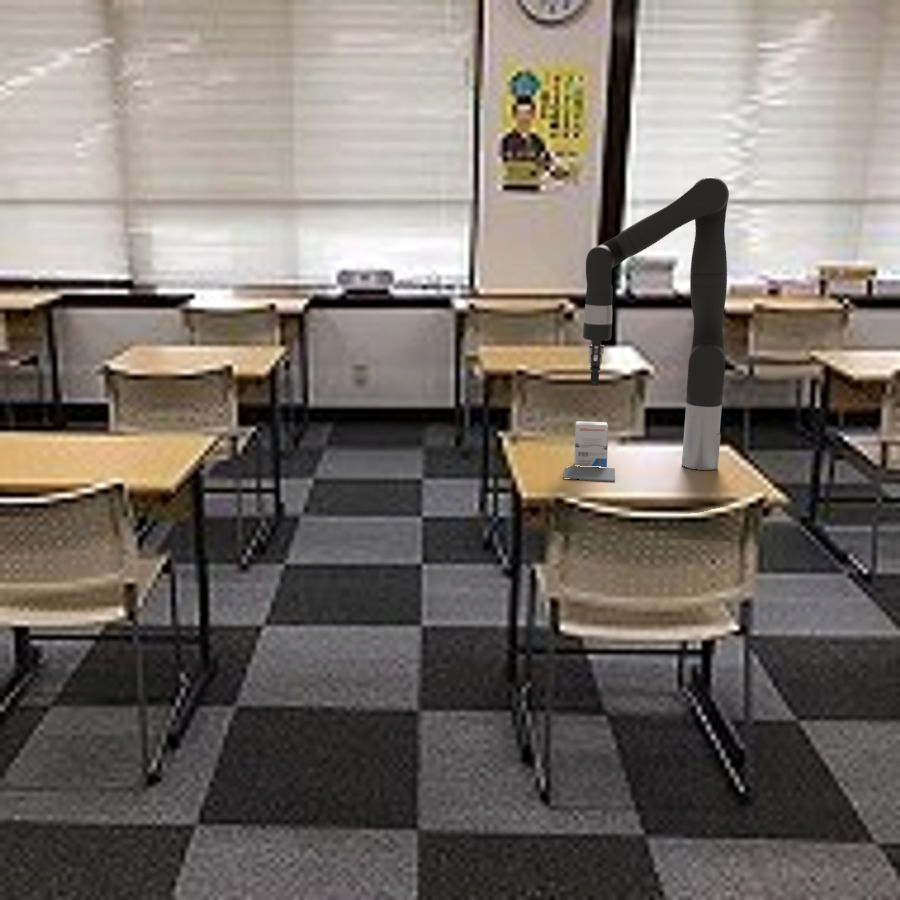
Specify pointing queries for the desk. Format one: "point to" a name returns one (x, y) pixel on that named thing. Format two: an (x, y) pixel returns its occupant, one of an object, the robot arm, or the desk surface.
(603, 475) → the mat
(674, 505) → the desk surface
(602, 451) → the ink box
